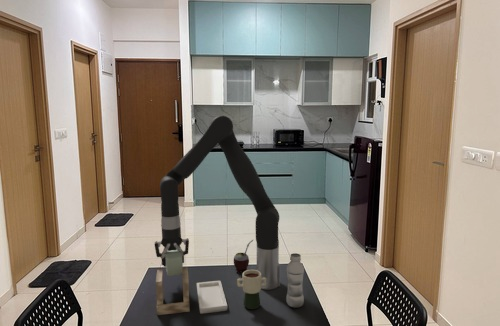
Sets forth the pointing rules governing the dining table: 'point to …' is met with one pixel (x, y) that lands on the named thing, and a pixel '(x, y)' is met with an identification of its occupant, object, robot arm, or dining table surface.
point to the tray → (211, 297)
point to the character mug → (251, 288)
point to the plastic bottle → (295, 281)
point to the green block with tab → (173, 262)
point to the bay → (173, 306)
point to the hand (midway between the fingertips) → (173, 264)
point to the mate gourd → (241, 261)
